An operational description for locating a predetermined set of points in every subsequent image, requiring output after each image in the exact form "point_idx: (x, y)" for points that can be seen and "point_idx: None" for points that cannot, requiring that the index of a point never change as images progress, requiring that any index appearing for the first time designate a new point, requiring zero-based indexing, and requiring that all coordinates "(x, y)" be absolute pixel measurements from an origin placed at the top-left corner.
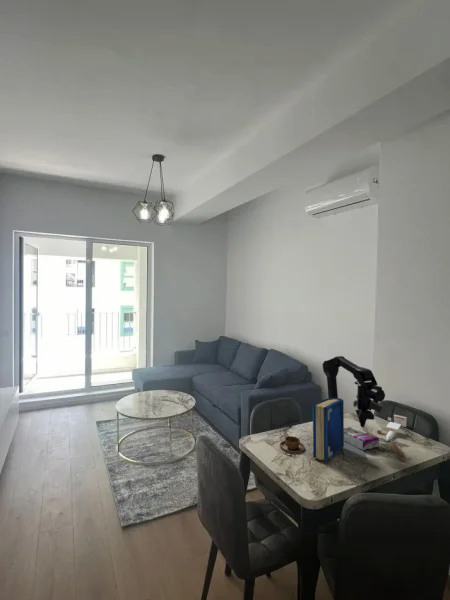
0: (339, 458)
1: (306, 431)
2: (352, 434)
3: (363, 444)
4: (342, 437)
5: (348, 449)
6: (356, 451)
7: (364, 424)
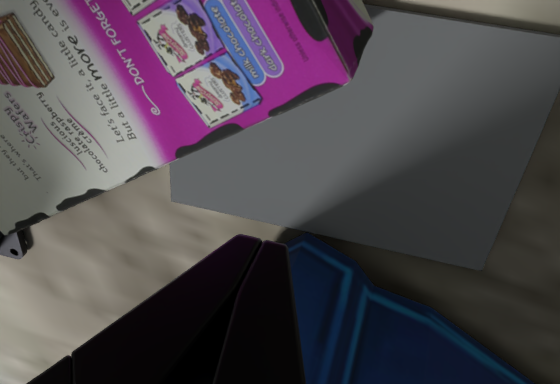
0: (536, 323)
1: (49, 362)
2: (118, 147)
3: (361, 52)
4: (329, 357)
5: (338, 182)
6: (385, 112)
7: (296, 317)
